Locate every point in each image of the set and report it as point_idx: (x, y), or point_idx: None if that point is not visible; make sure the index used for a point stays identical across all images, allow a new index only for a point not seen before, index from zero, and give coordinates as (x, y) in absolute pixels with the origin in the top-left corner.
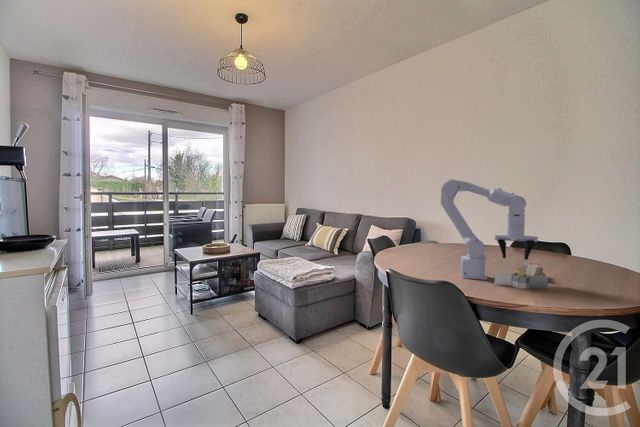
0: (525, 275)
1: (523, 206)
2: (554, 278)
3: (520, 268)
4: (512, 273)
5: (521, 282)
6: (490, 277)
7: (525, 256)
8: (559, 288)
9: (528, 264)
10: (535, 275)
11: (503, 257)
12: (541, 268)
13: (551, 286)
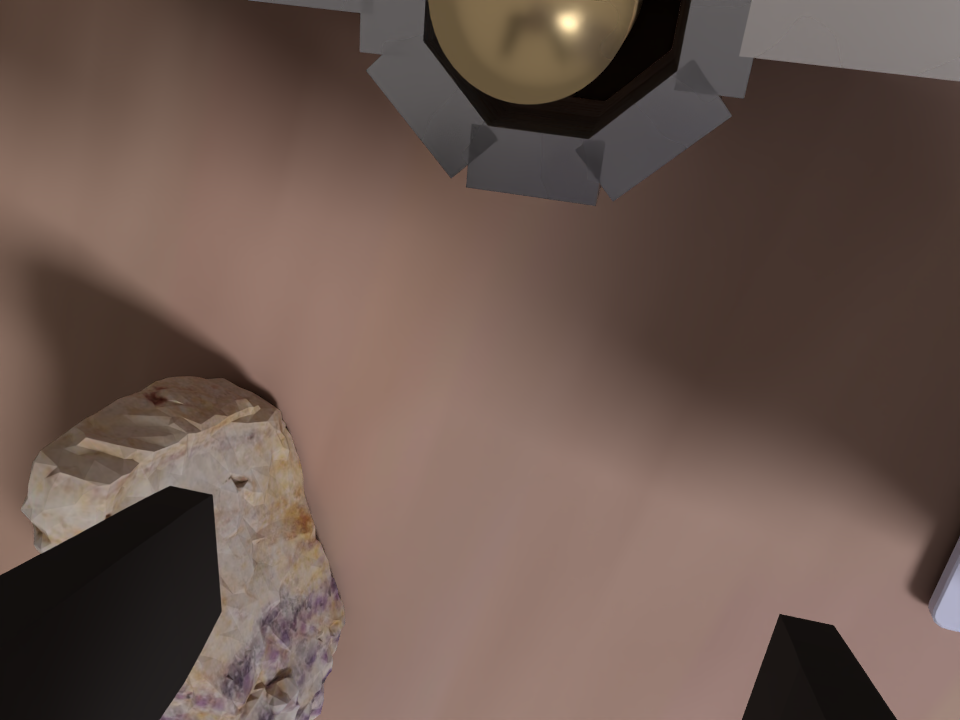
0: (431, 45)
1: None
2: (7, 500)
3: (524, 35)
4: (698, 127)
5: None
6: (879, 496)
7: (166, 589)
8: (2, 16)
9: (191, 717)
10: (201, 409)
11: (844, 662)
12: (37, 464)
13: (90, 111)
